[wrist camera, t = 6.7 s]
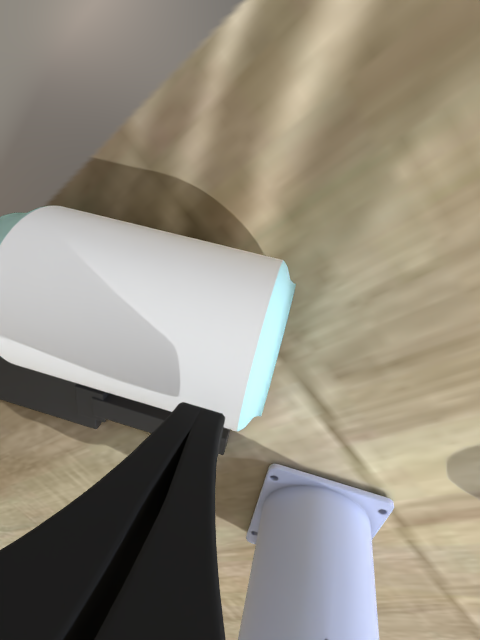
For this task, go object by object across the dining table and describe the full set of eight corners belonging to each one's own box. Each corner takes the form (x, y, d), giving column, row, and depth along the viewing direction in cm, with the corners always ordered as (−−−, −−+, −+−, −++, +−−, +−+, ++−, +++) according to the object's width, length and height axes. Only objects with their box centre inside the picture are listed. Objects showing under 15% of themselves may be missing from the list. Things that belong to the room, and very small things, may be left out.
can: (311, 227, 13) (5, 157, 14) (259, 429, 10) (-104, 321, 12) (288, 306, 19) (82, 253, 21) (253, 441, 17) (22, 371, 18)
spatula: (235, 406, 22) (230, 419, 21) (223, 460, 25) (219, 472, 24) (-14, 334, 24) (-27, 342, 23) (1, 391, 27) (-10, 400, 26)
